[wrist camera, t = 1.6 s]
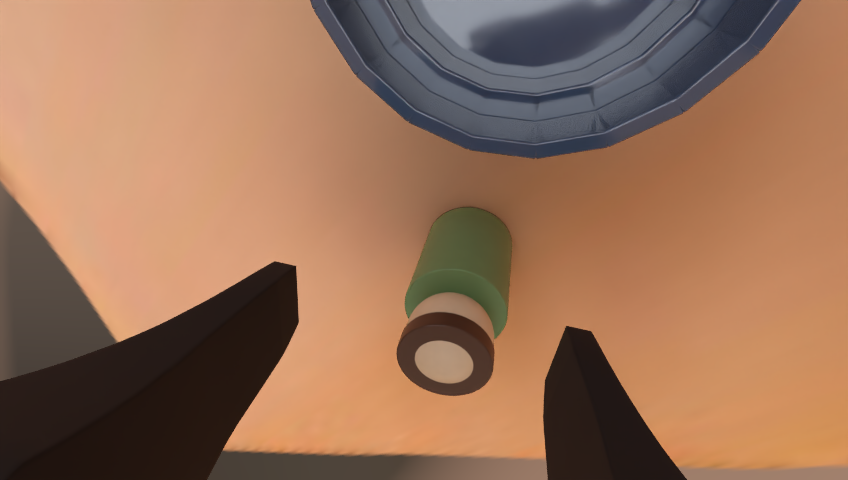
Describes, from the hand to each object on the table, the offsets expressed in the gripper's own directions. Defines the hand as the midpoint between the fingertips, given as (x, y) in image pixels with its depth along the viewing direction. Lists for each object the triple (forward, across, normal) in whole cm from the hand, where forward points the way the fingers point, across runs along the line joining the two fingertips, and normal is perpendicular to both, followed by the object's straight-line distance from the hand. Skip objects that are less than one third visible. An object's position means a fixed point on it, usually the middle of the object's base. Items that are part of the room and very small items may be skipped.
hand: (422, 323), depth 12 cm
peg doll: (+10, -1, +3) cm, 10 cm away
